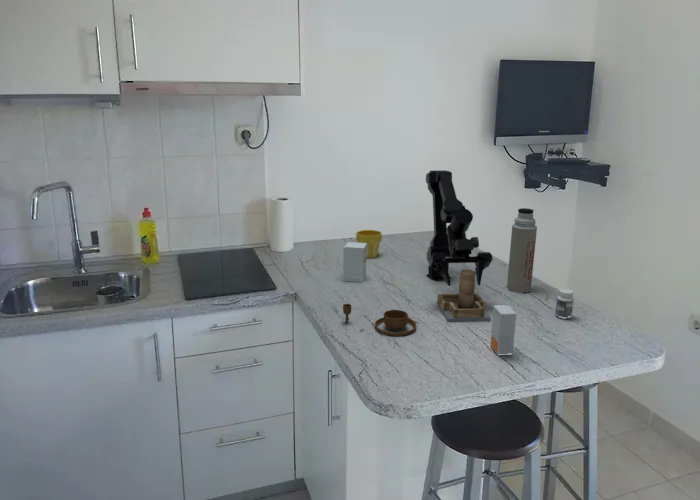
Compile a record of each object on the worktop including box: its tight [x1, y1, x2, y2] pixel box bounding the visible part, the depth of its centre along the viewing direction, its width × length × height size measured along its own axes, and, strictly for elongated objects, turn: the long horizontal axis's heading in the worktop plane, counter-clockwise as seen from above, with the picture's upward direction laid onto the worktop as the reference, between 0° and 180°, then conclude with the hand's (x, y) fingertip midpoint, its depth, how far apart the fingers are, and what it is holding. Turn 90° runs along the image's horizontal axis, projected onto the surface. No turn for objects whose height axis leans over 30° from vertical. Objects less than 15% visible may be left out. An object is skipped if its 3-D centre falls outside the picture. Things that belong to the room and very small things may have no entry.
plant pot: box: [355, 229, 383, 259], centre depth 236 cm, size 10×10×10 cm
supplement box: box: [342, 241, 368, 283], centre depth 208 cm, size 7×7×13 cm
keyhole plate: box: [436, 292, 492, 323], centre depth 179 cm, size 14×13×4 cm
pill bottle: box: [554, 288, 575, 317], centre depth 176 cm, size 5×5×8 cm
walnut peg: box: [458, 269, 476, 309], centre depth 175 cm, size 4×4×13 cm
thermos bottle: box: [506, 207, 538, 293], centre depth 197 cm, size 8×8×28 cm
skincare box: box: [490, 304, 517, 354], centre depth 152 cm, size 6×4×12 cm
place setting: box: [342, 303, 420, 337], centre depth 170 cm, size 18×20×6 cm
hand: (464, 285), depth 177 cm, fingers open, 9 cm apart
